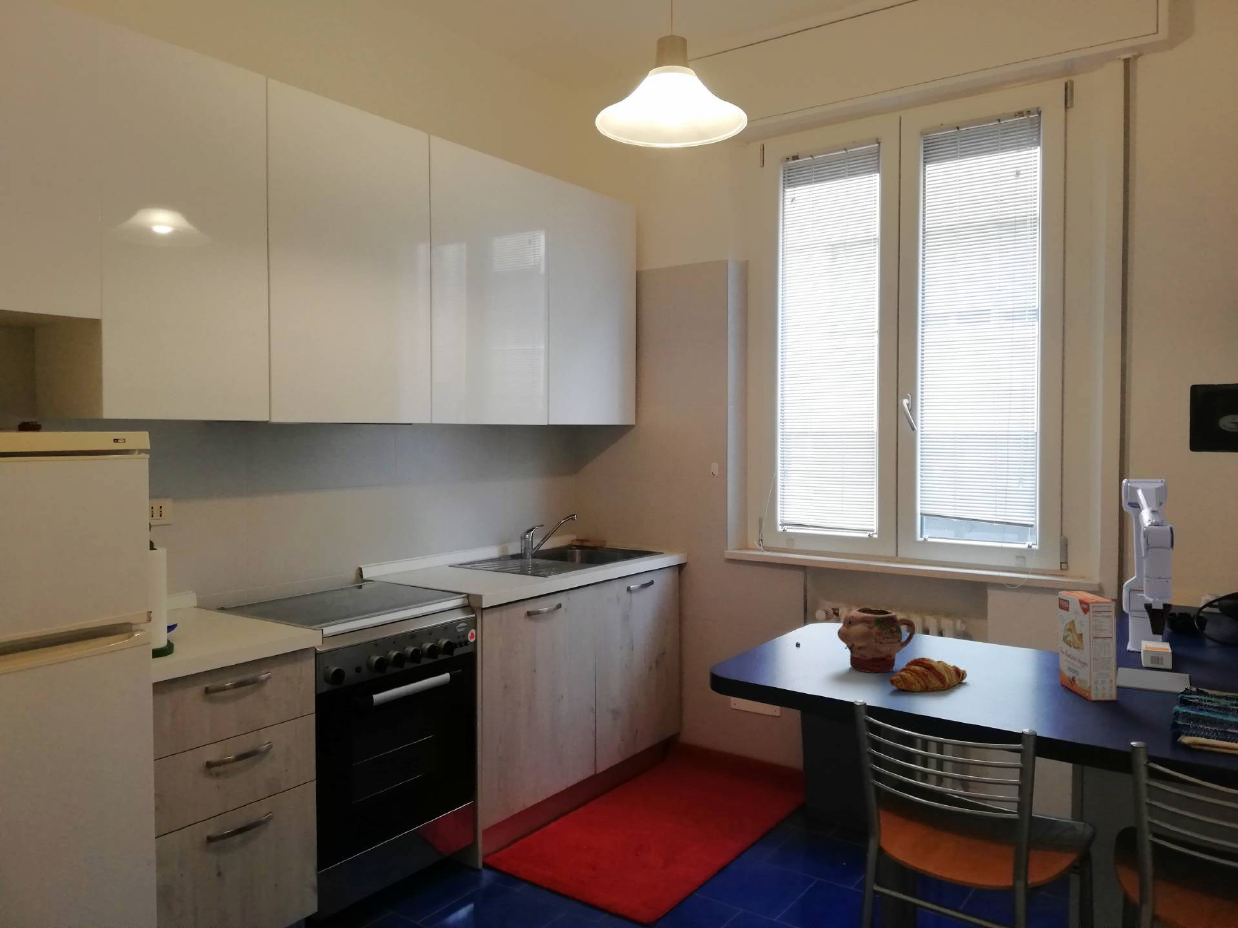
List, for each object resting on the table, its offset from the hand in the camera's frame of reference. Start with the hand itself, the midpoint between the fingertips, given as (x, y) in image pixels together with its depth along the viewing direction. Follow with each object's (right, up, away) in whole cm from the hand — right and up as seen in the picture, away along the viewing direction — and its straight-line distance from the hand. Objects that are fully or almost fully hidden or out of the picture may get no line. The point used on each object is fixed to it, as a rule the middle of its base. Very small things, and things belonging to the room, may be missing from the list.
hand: (1157, 634), depth 213 cm
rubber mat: (-7, -9, -10) cm, 15 cm away
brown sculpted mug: (-64, -9, +6) cm, 65 cm away
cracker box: (-26, -9, -18) cm, 33 cm away
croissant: (-58, -10, -12) cm, 60 cm away
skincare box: (+1, -6, +1) cm, 6 cm away
